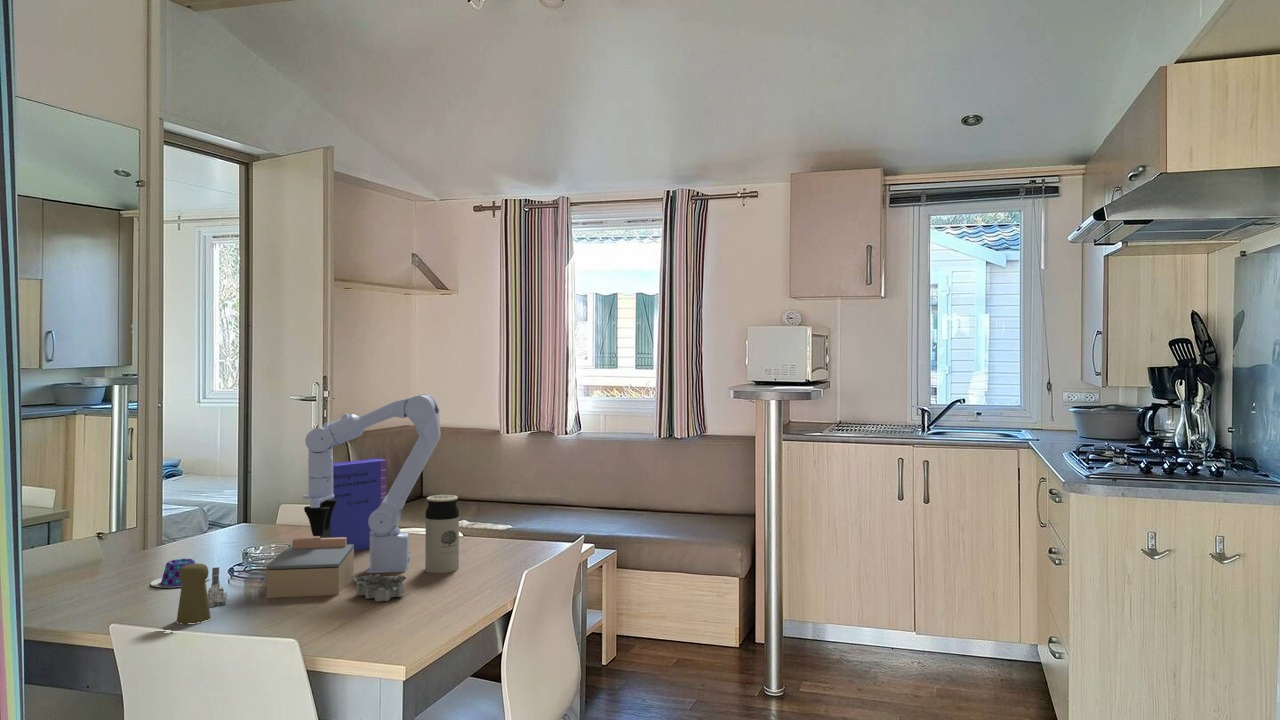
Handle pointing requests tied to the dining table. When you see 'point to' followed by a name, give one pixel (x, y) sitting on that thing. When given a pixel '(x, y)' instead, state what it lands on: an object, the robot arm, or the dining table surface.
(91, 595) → the dining table surface
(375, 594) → the egg carton
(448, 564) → the travel mug
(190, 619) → the cork
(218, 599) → the miniature stone castle
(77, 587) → the dining table surface
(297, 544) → the lid
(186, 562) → the purple spotted hat
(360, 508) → the blue book
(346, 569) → the mailer box
